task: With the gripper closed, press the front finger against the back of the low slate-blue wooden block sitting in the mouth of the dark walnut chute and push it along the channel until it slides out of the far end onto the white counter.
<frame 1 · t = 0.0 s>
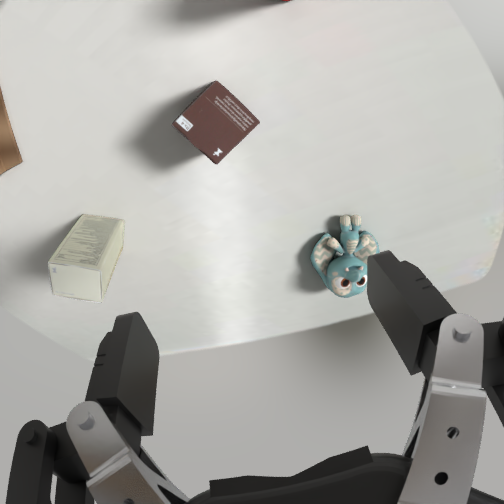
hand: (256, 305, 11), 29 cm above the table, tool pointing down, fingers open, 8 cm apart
skincare box: (103, 229, 40), on the table
box: (215, 114, 34), on the table
stuffed animal: (341, 248, 46), on the table
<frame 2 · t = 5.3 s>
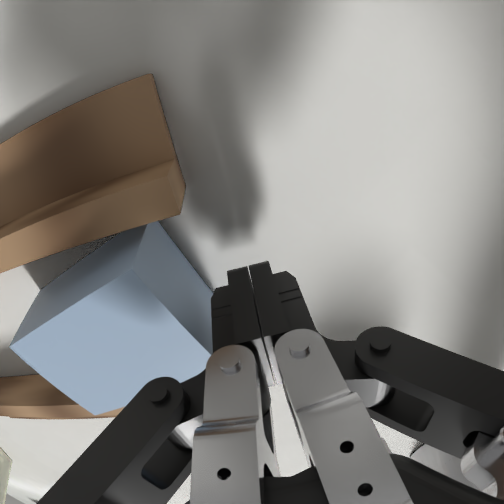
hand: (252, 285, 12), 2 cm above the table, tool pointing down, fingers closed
block: (124, 294, 13), on the table, touching gripper
chute: (32, 320, 13), on the table
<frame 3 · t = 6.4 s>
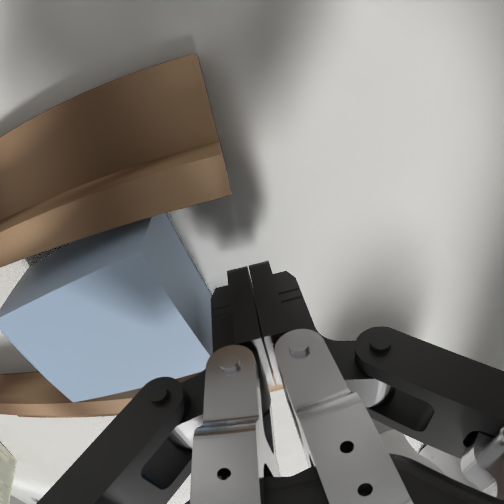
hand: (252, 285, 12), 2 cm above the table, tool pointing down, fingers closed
block: (117, 280, 13), on the table, touching gripper
chute: (50, 312, 13), on the table
lightbulb: (370, 410, 22), on the table
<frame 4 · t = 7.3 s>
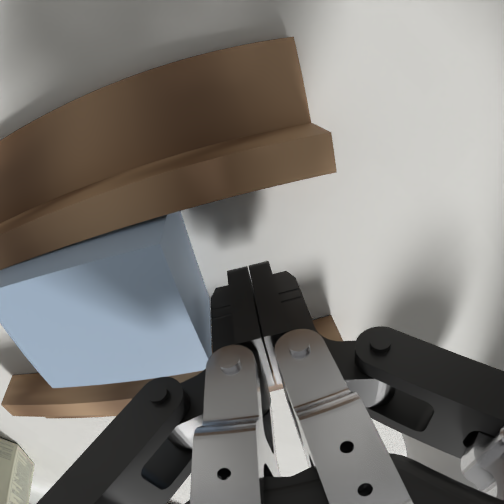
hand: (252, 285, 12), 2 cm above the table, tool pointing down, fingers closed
skincare box: (12, 448, 22), on the table
block: (113, 268, 13), on the table, touching gripper
chute: (101, 301, 13), on the table
lightbulb: (405, 395, 22), on the table
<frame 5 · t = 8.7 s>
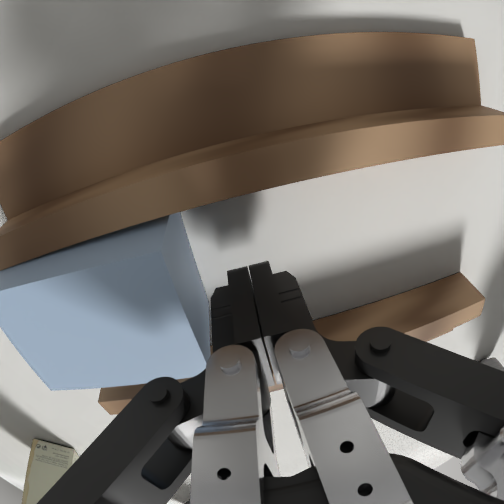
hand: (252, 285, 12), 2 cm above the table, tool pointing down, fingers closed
skincare box: (62, 453, 22), on the table
block: (113, 271, 13), on the table, touching gripper
chute: (277, 258, 13), on the table
lightbulb: (480, 360, 22), on the table
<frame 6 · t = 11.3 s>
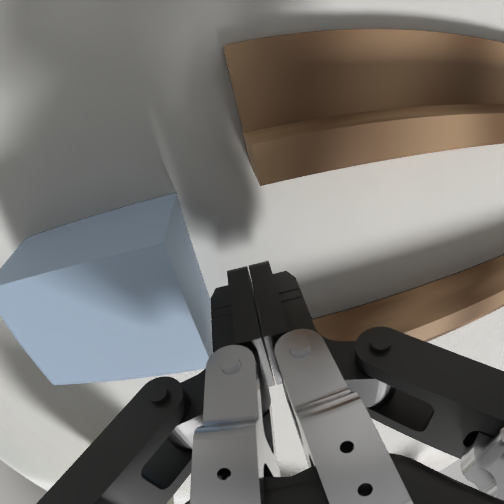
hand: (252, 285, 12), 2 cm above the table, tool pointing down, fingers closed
block: (115, 266, 13), on the table
chute: (467, 207, 13), on the table
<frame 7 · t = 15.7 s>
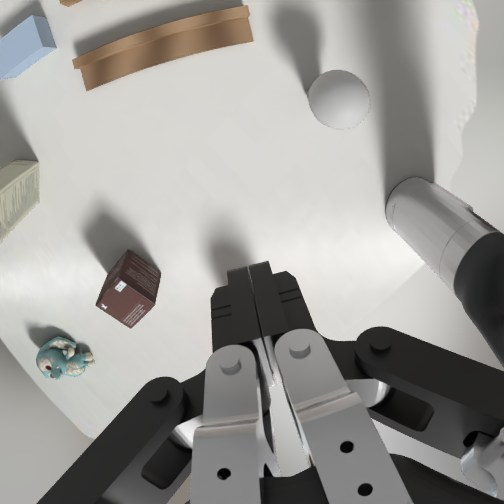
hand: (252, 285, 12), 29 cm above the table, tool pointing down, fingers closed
skincare box: (28, 181, 35), on the table
block: (30, 47, 26), on the table
box: (134, 272, 45), on the table
chute: (151, 1, 27), on the table
stuffed animal: (67, 350, 51), on the table
lightbulb: (314, 94, 35), on the table
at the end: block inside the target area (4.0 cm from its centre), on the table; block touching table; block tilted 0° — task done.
